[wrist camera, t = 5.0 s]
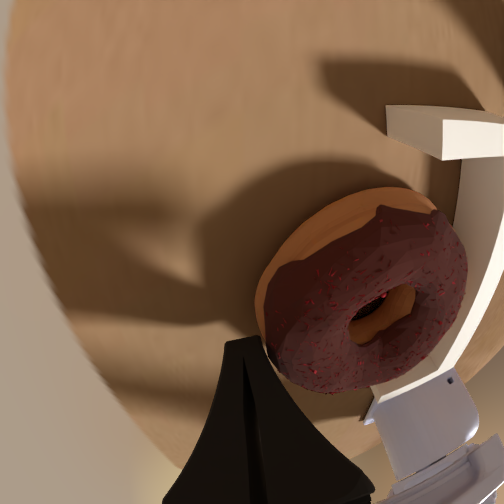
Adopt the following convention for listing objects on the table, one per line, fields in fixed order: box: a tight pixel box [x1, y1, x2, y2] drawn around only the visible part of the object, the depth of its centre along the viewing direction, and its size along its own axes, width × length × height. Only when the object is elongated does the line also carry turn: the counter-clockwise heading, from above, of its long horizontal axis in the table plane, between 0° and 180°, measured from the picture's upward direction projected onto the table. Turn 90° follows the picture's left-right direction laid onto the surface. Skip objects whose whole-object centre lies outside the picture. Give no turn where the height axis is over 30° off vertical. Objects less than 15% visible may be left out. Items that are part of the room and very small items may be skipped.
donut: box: [254, 187, 468, 395], centre depth 11 cm, size 10×10×4 cm
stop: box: [370, 105, 504, 404], centre depth 11 cm, size 6×16×3 cm, turn 11°
